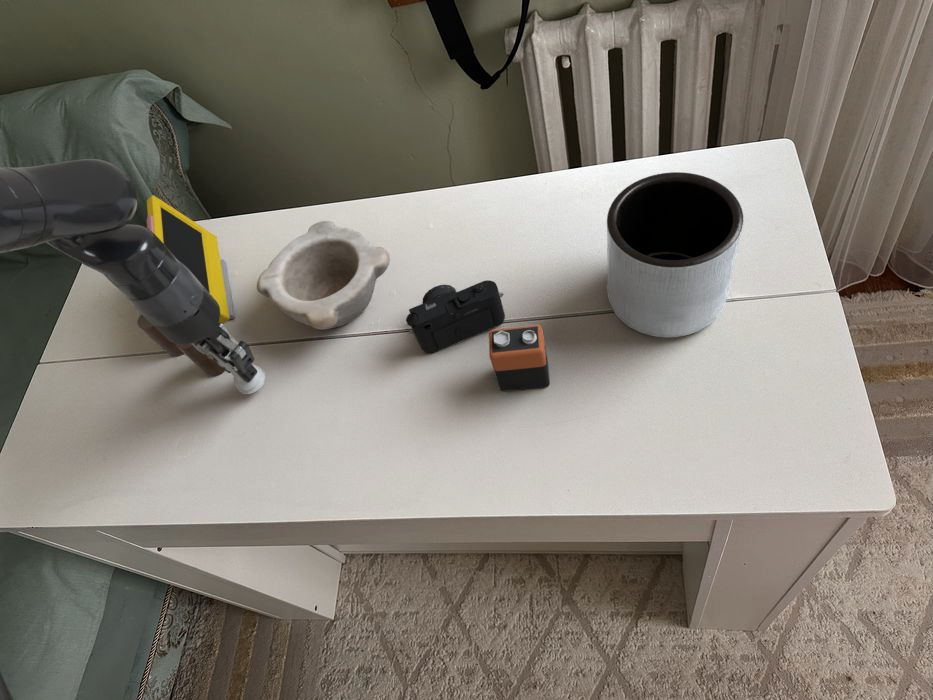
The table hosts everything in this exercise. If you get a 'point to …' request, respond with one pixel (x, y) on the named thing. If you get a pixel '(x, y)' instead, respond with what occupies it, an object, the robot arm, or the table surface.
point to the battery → (519, 357)
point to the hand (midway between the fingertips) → (242, 371)
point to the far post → (158, 337)
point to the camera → (455, 315)
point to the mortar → (324, 276)
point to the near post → (201, 360)
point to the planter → (671, 252)
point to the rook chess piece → (244, 386)
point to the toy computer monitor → (193, 251)
